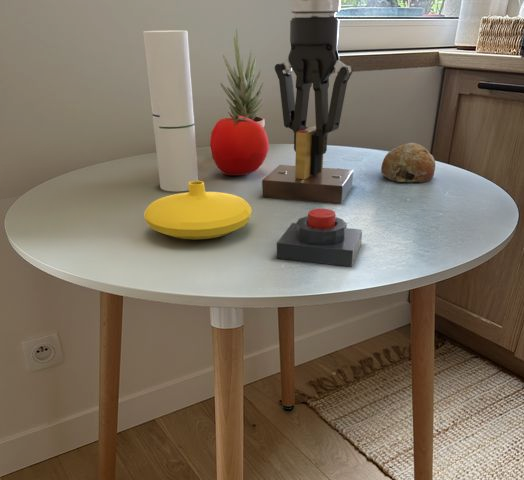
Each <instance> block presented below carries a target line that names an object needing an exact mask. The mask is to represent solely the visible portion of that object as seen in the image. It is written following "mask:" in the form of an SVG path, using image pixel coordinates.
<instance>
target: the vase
mask: <svg viewBox="0 0 524 480" xmlns="http://www.w3.org/2000/svg"><path fill="white" fill-rule="evenodd" d="M252 211H253V209H252V207H251V205H250V204H249V203H248V201H246V200H245V199H244V198H242V197H240V196H238V195H235V194H231V193H227V192H219V191H206V188H205V181H202V180H198V181H192V182H189V190H188V191H186V192H180V193H175V194H169V195H166V196H163V197H160V198H158V199H155V200H154V201H152V202H150V204H149V205H148V206H147V208H146V209H145V211H144V214H143V217H144V219H145V222H146V223H147V225H148V227H149V228H150V229H151V230H153V231H156V232H158V233H161V234H163V235H166V236H170V237H173V238H176V239H182V240H195V241H196V240H208V239H215V238H220V237H223V236H226V235H228V234H231V233H232V232H234V231H237V230H238V229H241V228H243V227H244V226H245V225H247V224H248V223H249V221H250V219H251V214H252Z"/></svg>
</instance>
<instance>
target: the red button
mask: <svg viewBox="0 0 524 480" xmlns="http://www.w3.org/2000/svg"><path fill="white" fill-rule="evenodd" d="M336 215H337V214H336V211H334V210H332V209H328V208H313V209H311V210H308V212H307V216H308V226H310V227H313V228H321V229H325V228H332V227H335V217H337V216H336Z"/></svg>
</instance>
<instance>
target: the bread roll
mask: <svg viewBox="0 0 524 480" xmlns="http://www.w3.org/2000/svg"><path fill="white" fill-rule="evenodd" d="M380 171H381V174H382V175H383V177H385V178H386V179H388V181H392V182H396V183H398V184H399V183H428V182H429V181H431V180H432V179H433V178H434V176H435V171H436V160H435V158H434V156H433V155H432V154H431V153H430V152H429V151H428V149H427V148H426V147H425V146H423V145H421V144H419V143H415V142H408V143H404V144H402V145H399V146H398V147H395V148H392V149H391V150H389V151H388V152H387V153H386V155H385V156H384V158H383V159H382V163H381V168H380Z"/></svg>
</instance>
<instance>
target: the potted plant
mask: <svg viewBox="0 0 524 480" xmlns="http://www.w3.org/2000/svg"><path fill="white" fill-rule="evenodd" d="M238 33H239V32H238V28H237V27H236V28H235V35H234V36H233V46H234V55H235V62H236V68H235V67H233V69H232V67H231V65H230V63H229V62H228V60H227V58H226V56H225V55H224V54H222V57H223V60H224V63H225V66H226V68H227V70H228V73H229V74H228V73H226V76H227V79H228V82H229V84H230V86H231V88H232V90H233V91H232V90H231V88H229V87H228V86H227V87H226V86H224V84H223V83H222V82H221V81H220V87H221V88H222V90H223V91H224V93H225V94H226V95H227V97H228V98H229V100H228V99H227V98H226V99H225V101H226V102H227V104H228V105H229V106H228V107H229V110H230V114H231V115H232V116H234V117H235V115H238V116H242V117H248V118H249V119H251V120H253V121H255V122H258V123H259V124H260V125H261V126H262V127H263V128H264V127H265V126H266V125H265V124H266V123H265V118H264V117H262V116H258V114H257V112H259V110H260V109H261V107H262V106H263V104H261V102H262V101H263V99H262V98H261V99H260V100H259V98H260V96H261V94H262V92H263V90H262V89H263V86H264V82H262V83H261V85H260V87H259V89H258V91H257V92H256V93H255V94H254V92H255V89H256V87H257V85H258V82H259V79H260V76H261V72H262V67H260V68H259V71H258V73H257V75H256V77H255V69H256V65H257V64H256V61H257V60H256V59H257V57H256V56H254V58H252V56H253V51H252V49H250V52H249V56H248V60H247V65H246V69H244V61H243V59H242V58H241V51H240V42H239V34H238ZM252 59H253V62H252ZM236 69H237V71H236ZM237 73H238V74H237ZM253 95H254V96H253ZM232 103H233V104H232ZM260 104H261V105H260ZM259 105H260V106H259ZM258 106H259V107H258ZM229 118H232V117H231V116H230V117H229Z"/></svg>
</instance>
